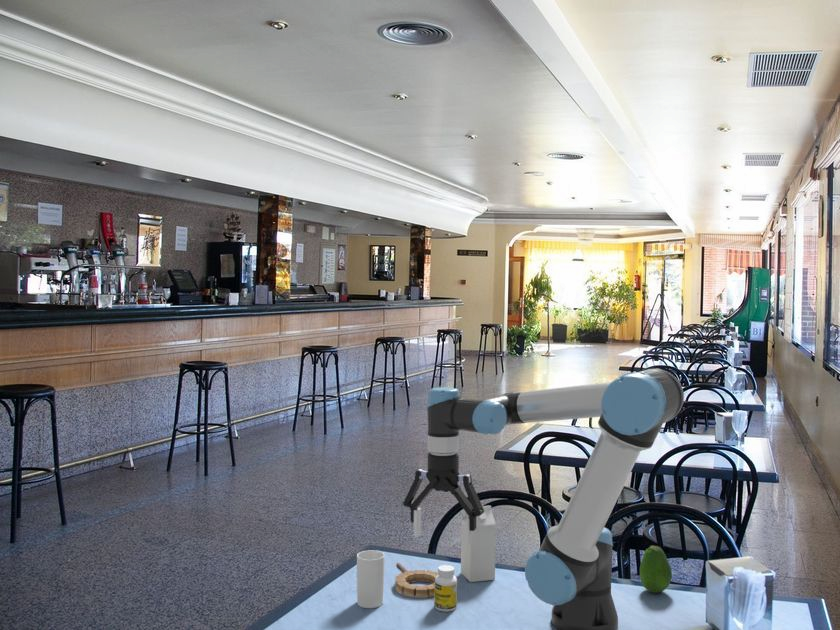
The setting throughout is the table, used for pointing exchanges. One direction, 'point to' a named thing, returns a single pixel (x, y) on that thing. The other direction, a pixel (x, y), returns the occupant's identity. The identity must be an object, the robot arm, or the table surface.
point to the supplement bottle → (445, 589)
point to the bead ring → (413, 590)
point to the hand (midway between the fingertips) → (442, 539)
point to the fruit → (655, 570)
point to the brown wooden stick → (401, 567)
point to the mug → (370, 578)
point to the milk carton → (479, 548)
